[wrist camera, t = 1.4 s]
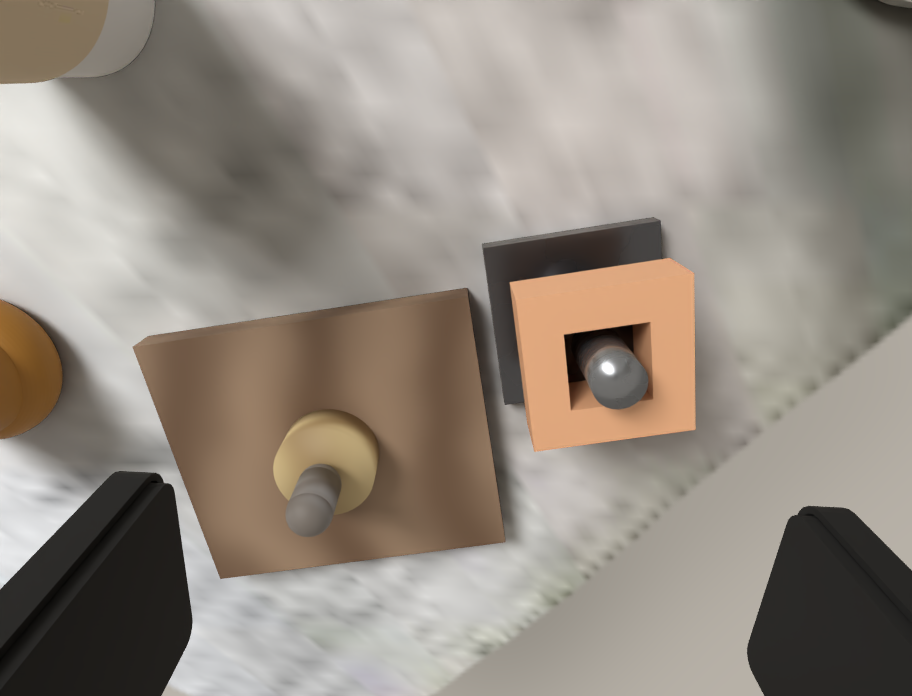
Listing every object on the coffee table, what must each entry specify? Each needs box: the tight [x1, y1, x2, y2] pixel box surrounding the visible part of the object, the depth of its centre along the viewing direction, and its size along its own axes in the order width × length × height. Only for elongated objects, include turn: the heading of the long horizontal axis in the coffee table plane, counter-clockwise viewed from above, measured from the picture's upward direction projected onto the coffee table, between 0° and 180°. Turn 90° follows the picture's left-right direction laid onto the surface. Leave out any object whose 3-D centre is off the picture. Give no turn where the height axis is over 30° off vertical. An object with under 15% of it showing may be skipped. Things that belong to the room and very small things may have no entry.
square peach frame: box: [510, 258, 696, 452], centre depth 23 cm, size 6×6×2 cm
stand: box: [482, 217, 662, 409], centre depth 25 cm, size 8×8×8 cm
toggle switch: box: [133, 288, 505, 579], centre depth 28 cm, size 16×14×8 cm
